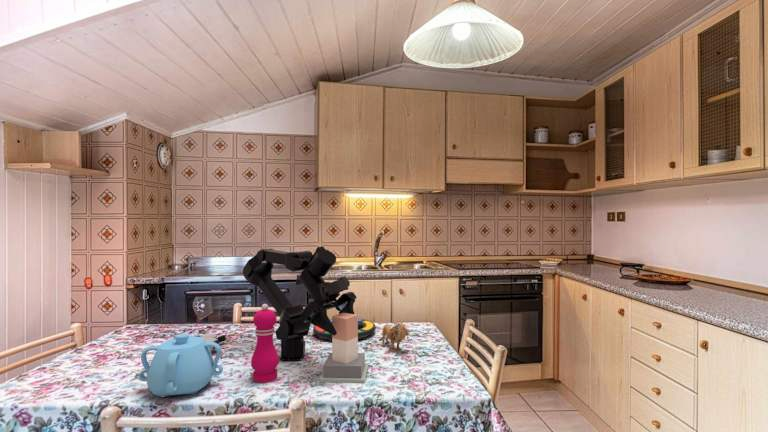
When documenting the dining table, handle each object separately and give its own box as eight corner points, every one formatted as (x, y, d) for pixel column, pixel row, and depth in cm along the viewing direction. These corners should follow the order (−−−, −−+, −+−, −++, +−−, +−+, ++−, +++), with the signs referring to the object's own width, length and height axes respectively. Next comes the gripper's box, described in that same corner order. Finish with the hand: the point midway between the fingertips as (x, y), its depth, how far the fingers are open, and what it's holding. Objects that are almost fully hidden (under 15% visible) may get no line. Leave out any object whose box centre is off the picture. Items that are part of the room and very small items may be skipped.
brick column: (332, 360, 111) (332, 316, 111) (343, 354, 116) (343, 312, 116) (346, 363, 109) (346, 318, 109) (357, 358, 113) (357, 314, 113)
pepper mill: (263, 386, 104) (263, 308, 104) (245, 379, 108) (244, 304, 108) (284, 376, 110) (284, 302, 110) (266, 371, 114) (266, 299, 114)
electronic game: (388, 333, 151) (388, 320, 151) (342, 348, 134) (342, 334, 134) (346, 322, 166) (345, 310, 166) (300, 335, 149) (300, 322, 149)
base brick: (318, 382, 107) (318, 366, 106) (327, 365, 119) (327, 351, 118) (364, 383, 106) (364, 367, 106) (368, 365, 118) (368, 352, 118)
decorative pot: (228, 386, 104) (228, 333, 104) (162, 409, 92) (162, 349, 92) (198, 371, 115) (198, 322, 115) (135, 389, 102) (135, 335, 102)
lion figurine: (411, 352, 130) (411, 324, 130) (398, 355, 127) (398, 326, 127) (384, 340, 142) (384, 314, 142) (372, 343, 139) (372, 317, 138)
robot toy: (194, 345, 140) (173, 357, 125) (195, 332, 140) (173, 342, 125) (230, 345, 140) (213, 357, 125) (231, 331, 140) (214, 342, 125)
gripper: (308, 272, 107) (341, 320, 101) (351, 264, 123) (382, 305, 117) (287, 298, 111) (317, 346, 105) (331, 288, 127) (360, 329, 121)
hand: (346, 330), depth 112 cm, fingers open, 9 cm apart
